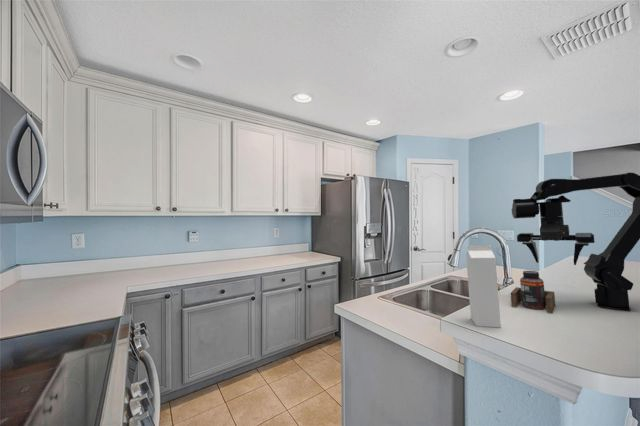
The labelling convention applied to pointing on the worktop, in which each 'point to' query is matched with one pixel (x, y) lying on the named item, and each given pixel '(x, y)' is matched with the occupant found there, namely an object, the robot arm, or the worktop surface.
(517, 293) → the u-shaped wooden frame
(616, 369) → the worktop surface
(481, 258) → the milk
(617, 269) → the robot arm
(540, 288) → the supplement bottle
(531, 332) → the worktop surface
